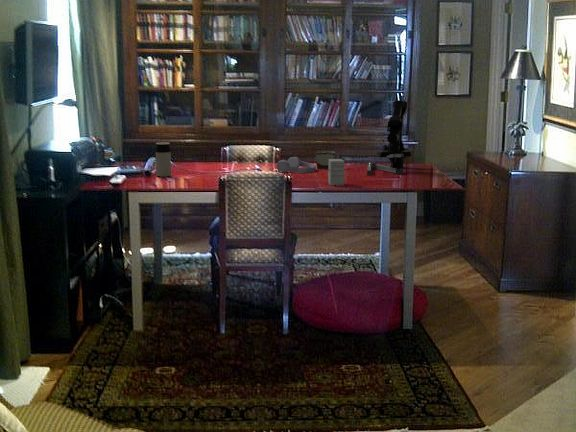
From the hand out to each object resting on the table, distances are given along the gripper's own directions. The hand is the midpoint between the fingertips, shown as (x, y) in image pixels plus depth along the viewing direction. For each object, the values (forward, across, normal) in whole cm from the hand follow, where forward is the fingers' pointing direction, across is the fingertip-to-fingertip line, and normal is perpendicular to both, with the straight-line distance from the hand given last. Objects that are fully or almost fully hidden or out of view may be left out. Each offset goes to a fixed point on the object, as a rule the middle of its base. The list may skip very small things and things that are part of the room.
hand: (393, 169), depth 450 cm
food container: (+2, +34, -22) cm, 40 cm away
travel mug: (+2, +128, -13) cm, 128 cm away
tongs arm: (+1, +3, -1) cm, 3 cm away
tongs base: (+2, +12, -3) cm, 13 cm away
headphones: (+2, +51, -18) cm, 54 cm away
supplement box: (+2, +44, +35) cm, 57 cm away
